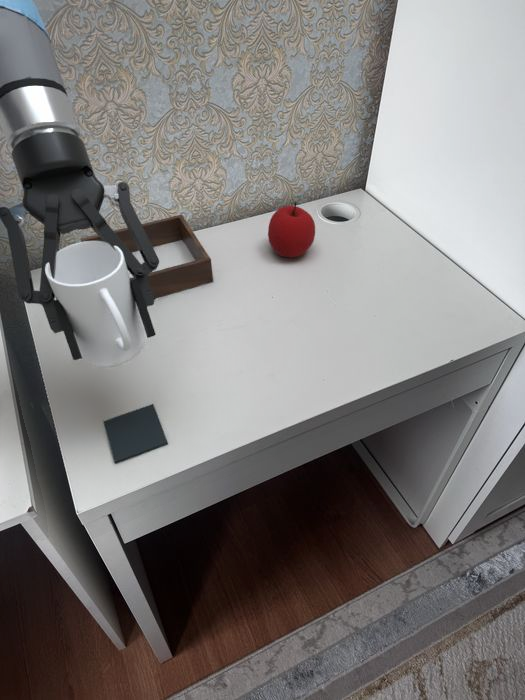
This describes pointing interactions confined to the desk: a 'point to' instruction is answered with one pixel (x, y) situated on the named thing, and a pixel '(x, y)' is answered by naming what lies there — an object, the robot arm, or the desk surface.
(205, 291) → the desk surface
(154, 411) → the mat
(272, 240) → the apple
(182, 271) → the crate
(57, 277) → the mug
